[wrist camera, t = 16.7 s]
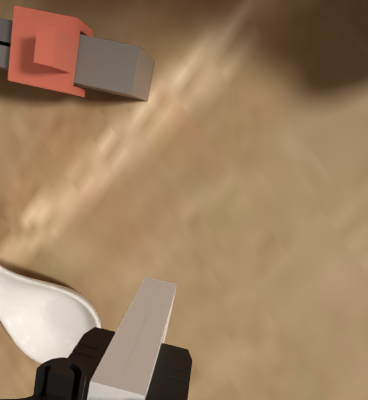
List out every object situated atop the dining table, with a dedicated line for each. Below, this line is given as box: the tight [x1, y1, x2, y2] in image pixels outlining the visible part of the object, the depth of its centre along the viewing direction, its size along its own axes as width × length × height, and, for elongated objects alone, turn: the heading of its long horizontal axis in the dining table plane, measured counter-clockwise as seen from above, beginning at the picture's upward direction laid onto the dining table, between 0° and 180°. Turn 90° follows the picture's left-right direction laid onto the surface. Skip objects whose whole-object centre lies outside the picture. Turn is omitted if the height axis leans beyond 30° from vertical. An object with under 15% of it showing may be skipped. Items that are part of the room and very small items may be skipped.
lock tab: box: [8, 5, 93, 97], centre depth 31 cm, size 6×7×8 cm
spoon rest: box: [0, 265, 101, 364], centre depth 43 cm, size 24×12×7 cm, turn 36°
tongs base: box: [0, 18, 154, 101], centre depth 36 cm, size 32×5×7 cm, turn 78°
